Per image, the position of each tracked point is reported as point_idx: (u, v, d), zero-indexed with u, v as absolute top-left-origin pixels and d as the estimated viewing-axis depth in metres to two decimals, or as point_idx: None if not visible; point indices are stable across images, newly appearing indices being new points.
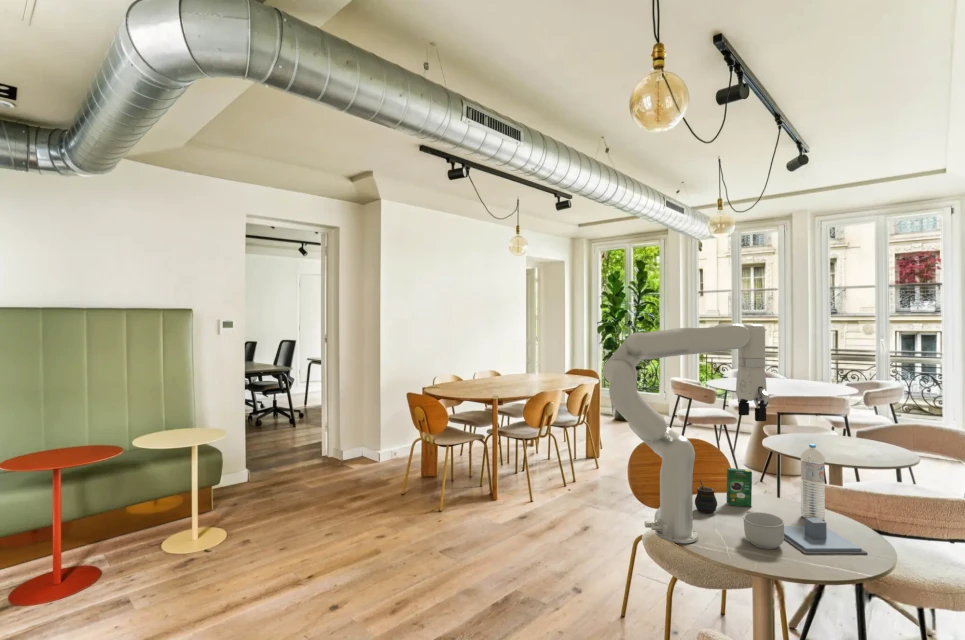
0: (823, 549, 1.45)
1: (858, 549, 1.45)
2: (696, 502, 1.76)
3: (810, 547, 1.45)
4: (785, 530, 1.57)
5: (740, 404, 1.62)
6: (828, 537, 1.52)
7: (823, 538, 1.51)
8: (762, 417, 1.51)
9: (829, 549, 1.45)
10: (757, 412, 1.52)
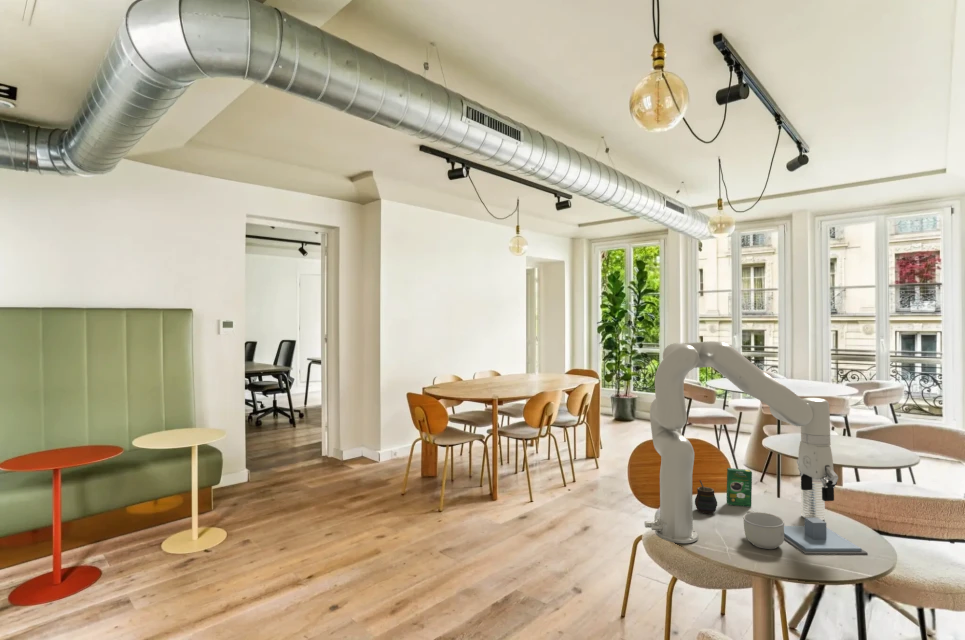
0: (823, 549, 1.45)
1: (858, 549, 1.45)
2: (696, 502, 1.76)
3: (810, 547, 1.45)
4: (785, 530, 1.57)
5: (803, 479, 1.57)
6: (828, 537, 1.52)
7: (823, 538, 1.51)
8: (830, 497, 1.47)
9: (829, 549, 1.45)
10: (825, 492, 1.48)
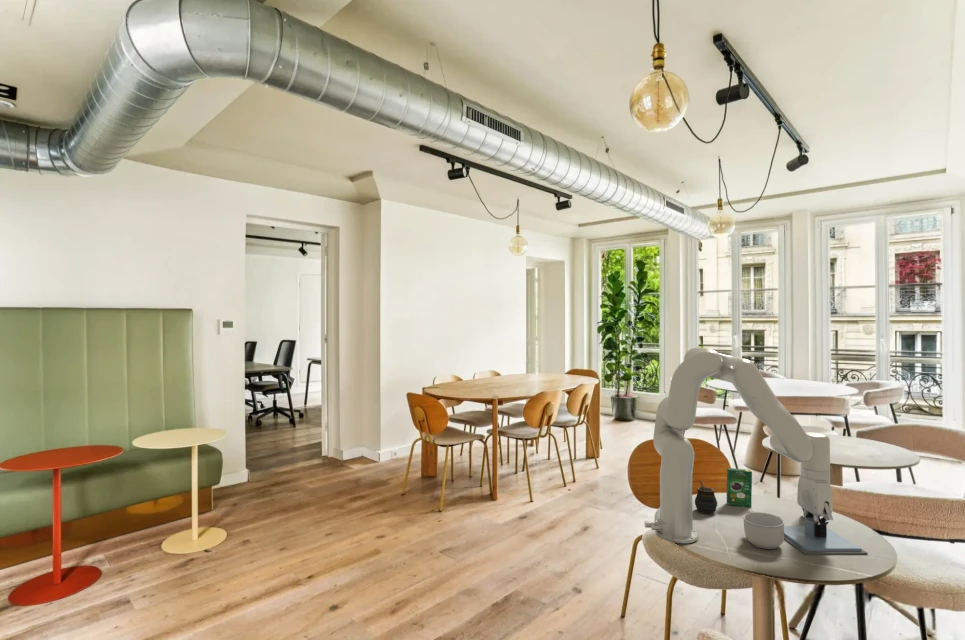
0: (823, 549, 1.45)
1: (858, 549, 1.45)
2: (696, 502, 1.76)
3: (810, 547, 1.45)
4: (785, 530, 1.57)
5: None
6: (828, 537, 1.52)
7: (823, 538, 1.51)
8: (823, 534, 1.50)
9: (829, 549, 1.45)
10: (817, 528, 1.50)
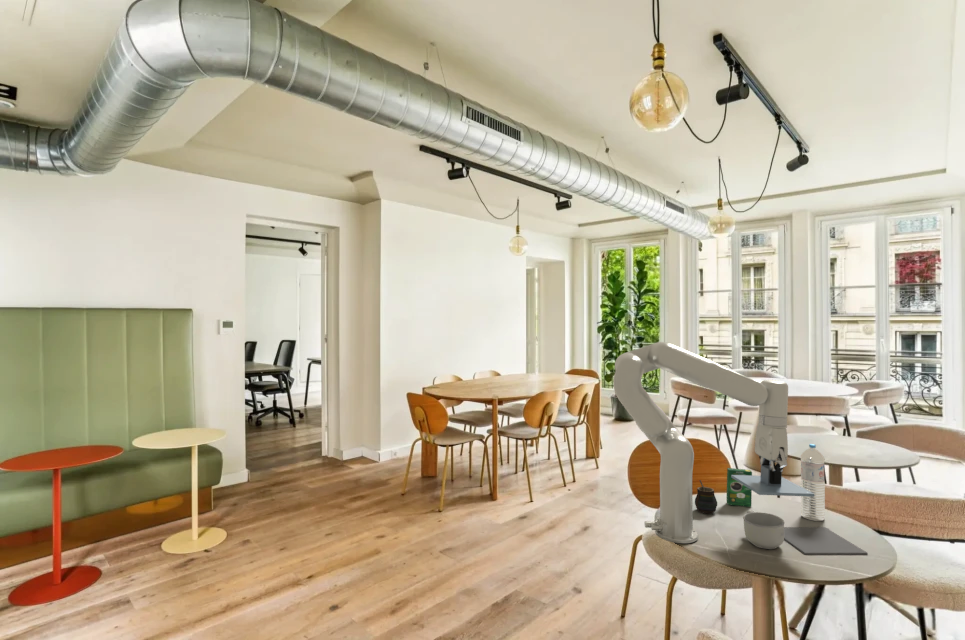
0: (776, 493, 1.44)
1: (811, 494, 1.44)
2: (696, 502, 1.76)
3: (763, 491, 1.45)
4: (741, 478, 1.57)
5: None
6: (783, 484, 1.52)
7: (778, 485, 1.50)
8: (777, 480, 1.49)
9: (782, 493, 1.44)
10: (772, 475, 1.50)
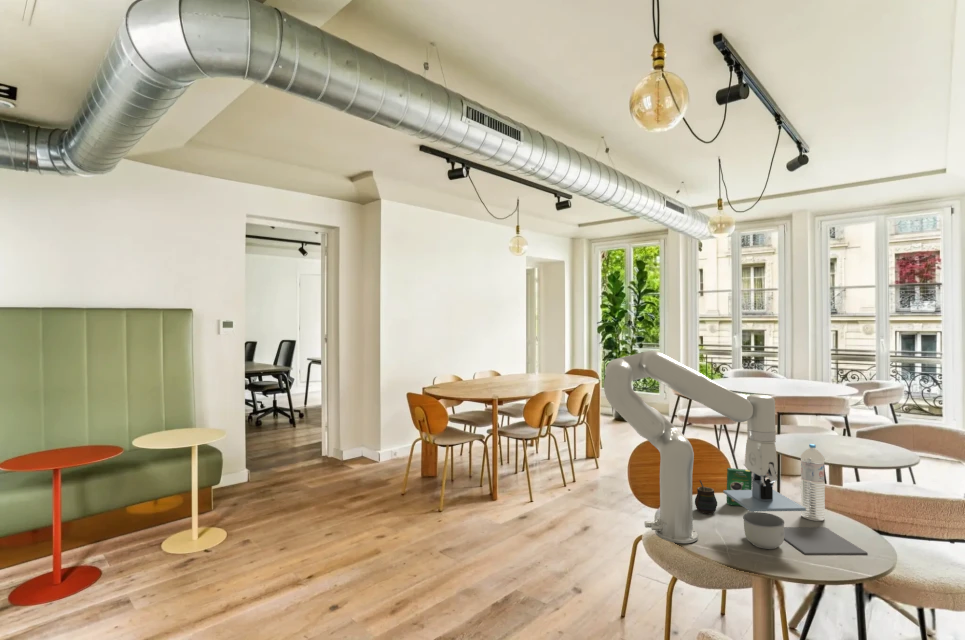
0: (767, 509, 1.44)
1: (802, 509, 1.44)
2: (696, 502, 1.76)
3: (754, 508, 1.44)
4: (733, 493, 1.56)
5: None
6: (775, 499, 1.51)
7: (769, 500, 1.50)
8: (768, 495, 1.49)
9: (773, 509, 1.44)
10: (763, 490, 1.49)
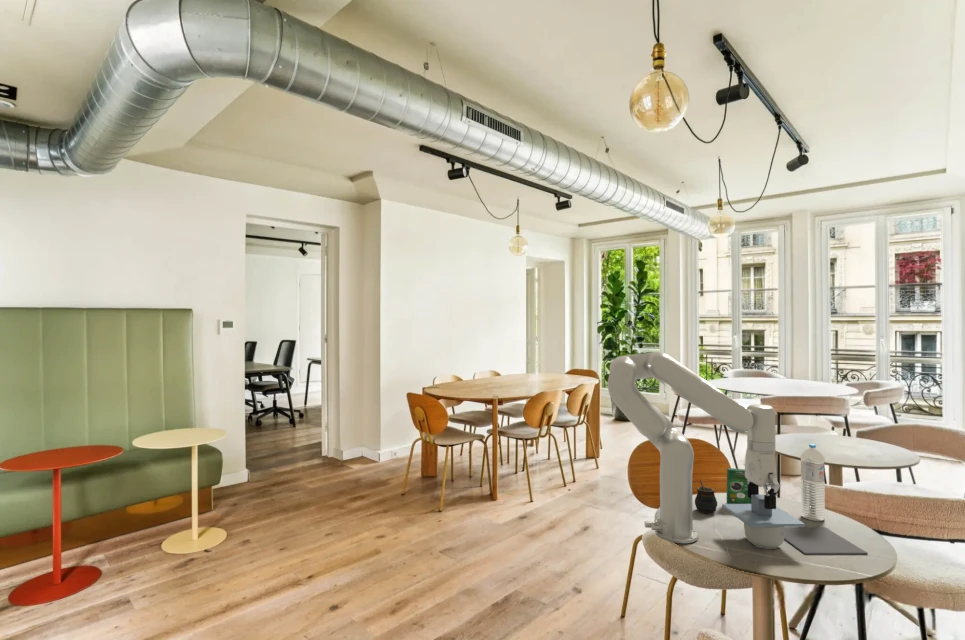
0: (767, 525, 1.44)
1: (801, 524, 1.44)
2: (696, 502, 1.76)
3: (753, 523, 1.44)
4: (732, 508, 1.56)
5: (749, 486, 1.56)
6: (774, 514, 1.51)
7: (768, 515, 1.50)
8: (772, 505, 1.46)
9: (773, 525, 1.44)
10: (767, 500, 1.47)
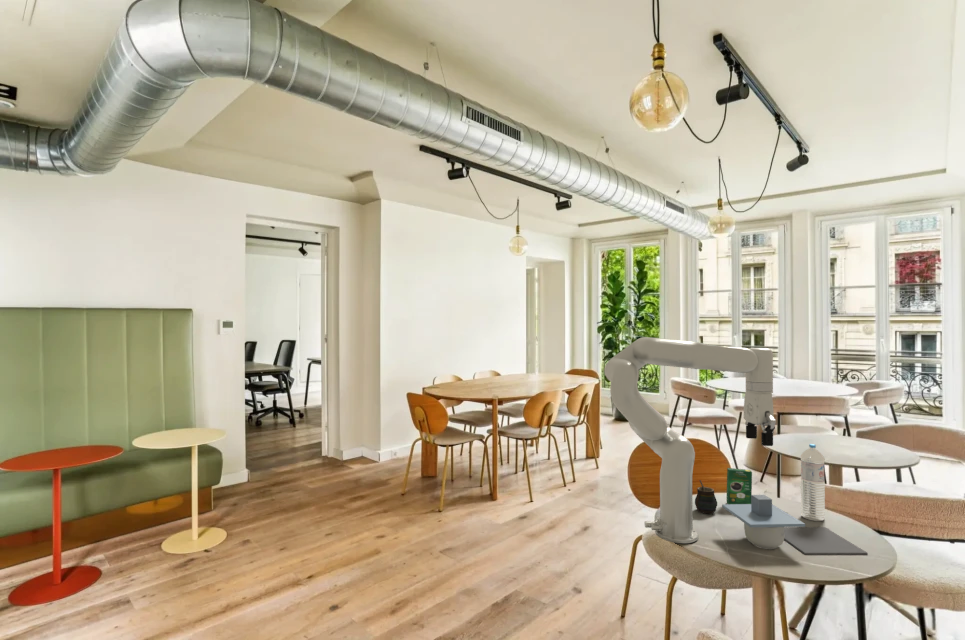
0: (767, 525, 1.44)
1: (802, 524, 1.44)
2: (696, 502, 1.76)
3: (754, 523, 1.44)
4: (732, 508, 1.56)
5: (748, 427, 1.62)
6: (774, 514, 1.51)
7: (769, 515, 1.50)
8: (769, 442, 1.51)
9: (773, 525, 1.44)
10: (764, 437, 1.52)
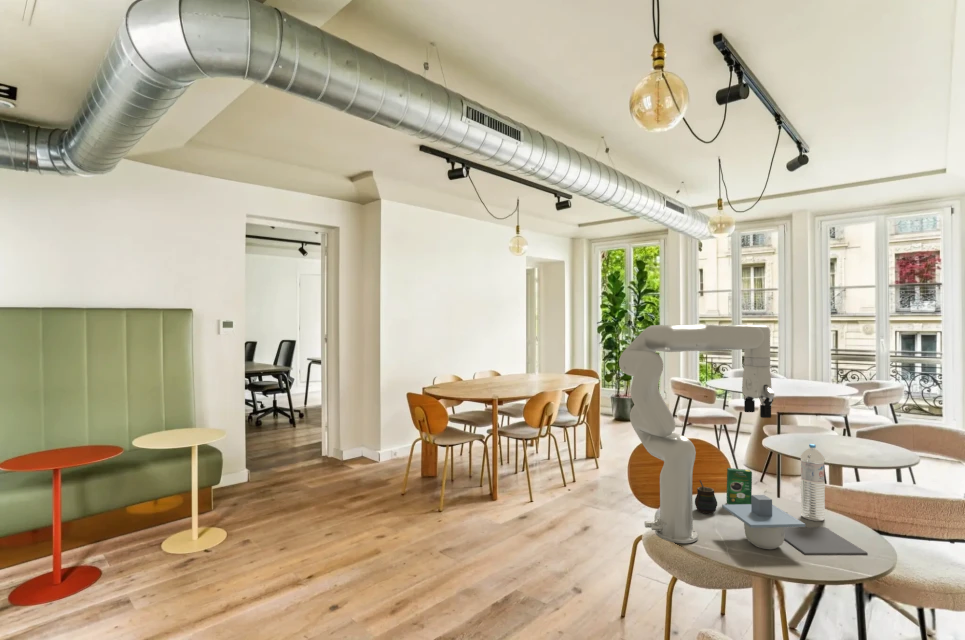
0: (768, 525, 1.44)
1: (802, 525, 1.44)
2: (696, 502, 1.76)
3: (755, 524, 1.44)
4: (732, 508, 1.56)
5: (746, 401, 1.70)
6: (774, 514, 1.51)
7: (769, 515, 1.50)
8: (767, 414, 1.59)
9: (774, 525, 1.44)
10: (762, 409, 1.60)
